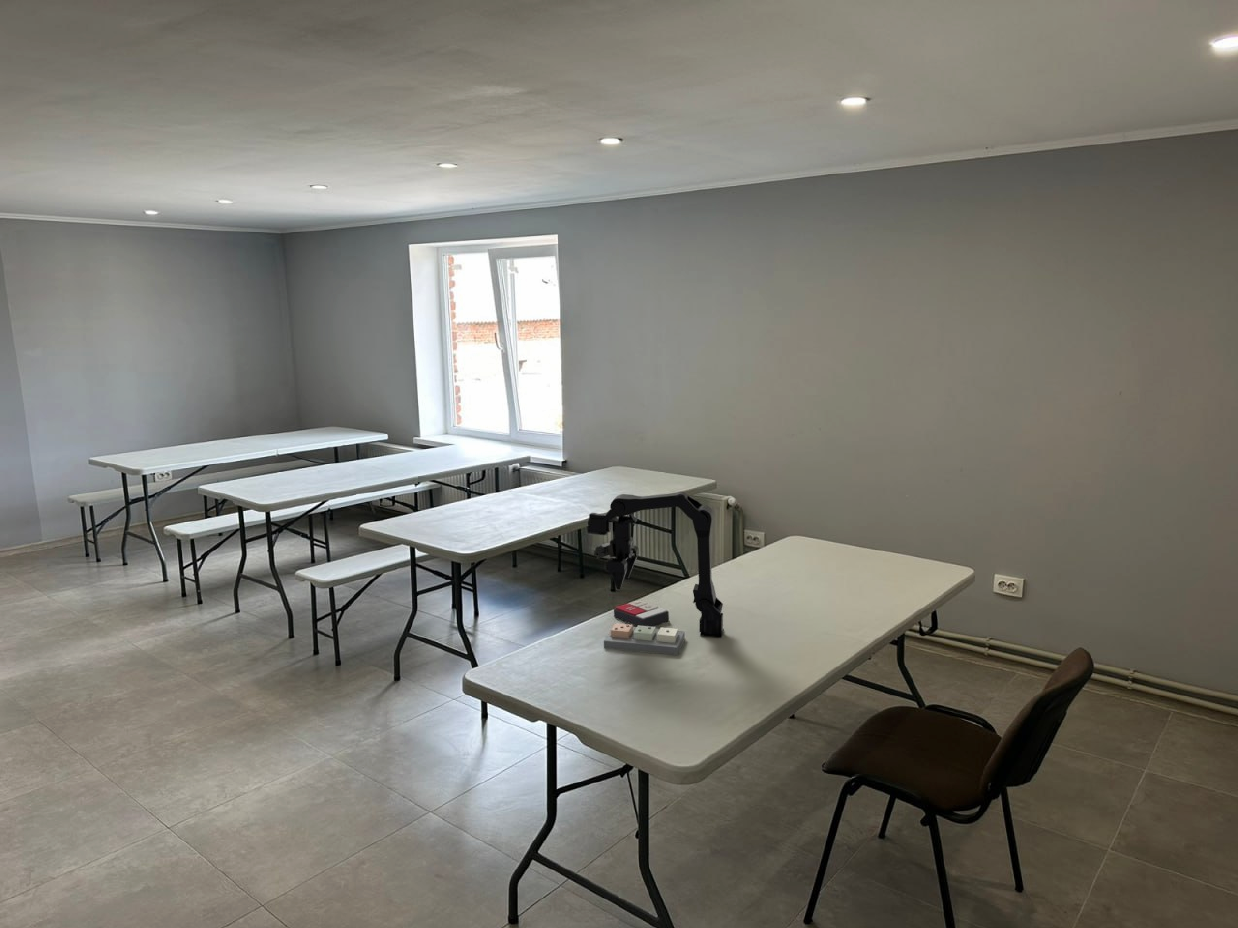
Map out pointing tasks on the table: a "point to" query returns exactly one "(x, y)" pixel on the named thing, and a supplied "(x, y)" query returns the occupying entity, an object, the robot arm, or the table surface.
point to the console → (645, 644)
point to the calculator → (641, 614)
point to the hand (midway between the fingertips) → (622, 584)
